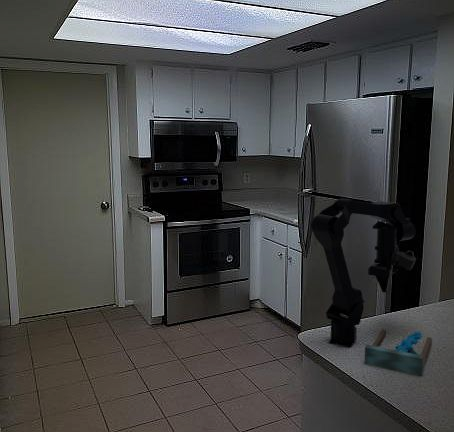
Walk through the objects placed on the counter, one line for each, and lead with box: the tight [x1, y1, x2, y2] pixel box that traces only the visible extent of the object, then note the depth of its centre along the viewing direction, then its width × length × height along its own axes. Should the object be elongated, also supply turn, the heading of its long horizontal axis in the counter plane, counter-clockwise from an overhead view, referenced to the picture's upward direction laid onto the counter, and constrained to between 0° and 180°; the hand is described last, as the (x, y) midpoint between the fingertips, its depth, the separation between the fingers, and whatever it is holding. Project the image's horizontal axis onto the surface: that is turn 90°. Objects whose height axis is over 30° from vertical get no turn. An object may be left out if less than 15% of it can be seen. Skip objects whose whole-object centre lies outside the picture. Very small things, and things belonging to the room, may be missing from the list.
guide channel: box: [363, 328, 433, 377], centre depth 126 cm, size 14×22×4 cm, turn 150°
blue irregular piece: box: [394, 331, 423, 355], centre depth 123 cm, size 11×6×10 cm
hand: (384, 292), depth 143 cm, fingers closed
